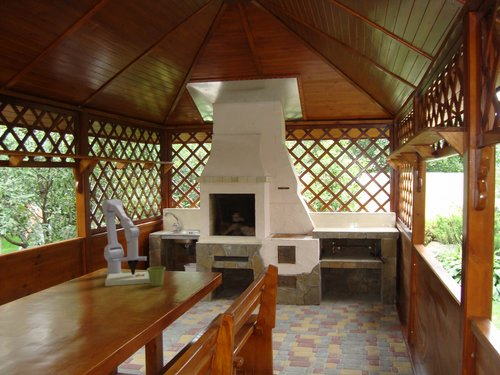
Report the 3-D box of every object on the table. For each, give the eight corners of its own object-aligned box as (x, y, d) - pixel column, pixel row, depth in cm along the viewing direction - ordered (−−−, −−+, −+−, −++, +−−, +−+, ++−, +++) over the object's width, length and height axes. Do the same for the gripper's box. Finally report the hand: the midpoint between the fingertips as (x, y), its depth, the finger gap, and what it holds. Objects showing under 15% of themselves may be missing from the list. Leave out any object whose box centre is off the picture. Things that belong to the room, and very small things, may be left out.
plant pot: (143, 286, 212) (143, 269, 212) (153, 282, 221) (152, 266, 221) (160, 287, 210) (159, 270, 210) (168, 283, 219) (168, 267, 219)
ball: (135, 276, 229) (139, 271, 229) (139, 280, 229) (144, 275, 229) (133, 277, 226) (138, 273, 226) (138, 282, 226) (142, 277, 226)
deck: (109, 278, 233) (109, 271, 233) (153, 275, 238) (153, 268, 238) (105, 286, 215) (105, 278, 215) (152, 282, 220) (152, 275, 220)
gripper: (118, 251, 221) (118, 276, 221) (146, 249, 224) (146, 274, 224) (119, 249, 228) (119, 273, 228) (146, 247, 231) (147, 272, 231)
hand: (133, 274), depth 227 cm, fingers closed
